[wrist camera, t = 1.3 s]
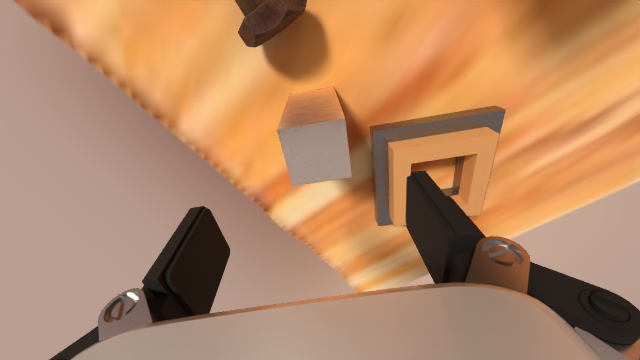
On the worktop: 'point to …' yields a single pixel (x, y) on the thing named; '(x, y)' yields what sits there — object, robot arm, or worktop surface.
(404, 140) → the square socket base
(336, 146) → the block
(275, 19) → the bolt
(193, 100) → the worktop surface
